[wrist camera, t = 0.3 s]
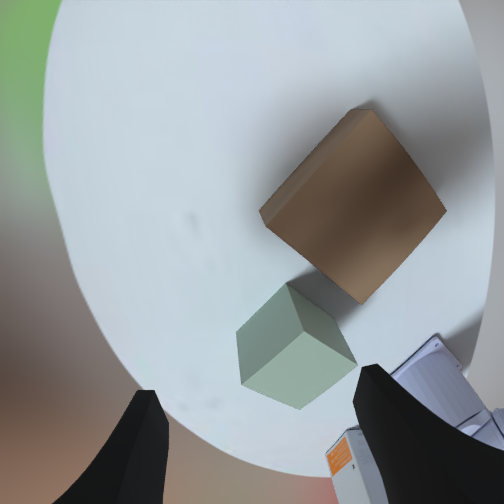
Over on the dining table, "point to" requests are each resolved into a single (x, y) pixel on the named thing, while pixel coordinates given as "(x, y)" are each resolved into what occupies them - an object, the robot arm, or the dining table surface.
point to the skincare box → (355, 471)
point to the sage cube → (292, 350)
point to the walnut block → (355, 205)
